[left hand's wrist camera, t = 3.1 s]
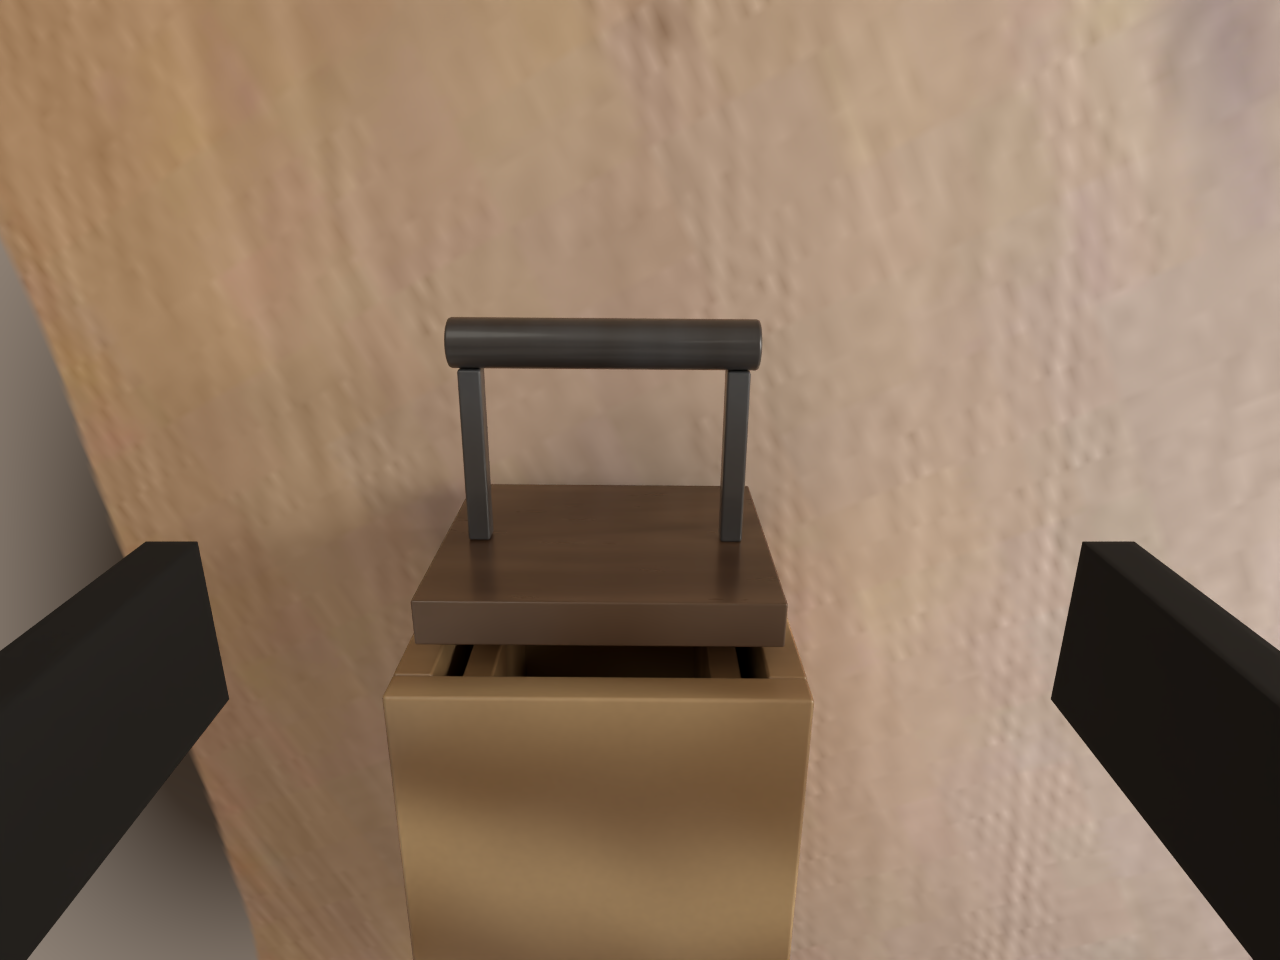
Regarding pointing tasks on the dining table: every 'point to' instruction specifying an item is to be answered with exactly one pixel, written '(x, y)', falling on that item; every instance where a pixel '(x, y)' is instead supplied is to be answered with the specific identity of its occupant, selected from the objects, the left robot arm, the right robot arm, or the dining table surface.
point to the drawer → (603, 526)
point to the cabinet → (599, 809)
